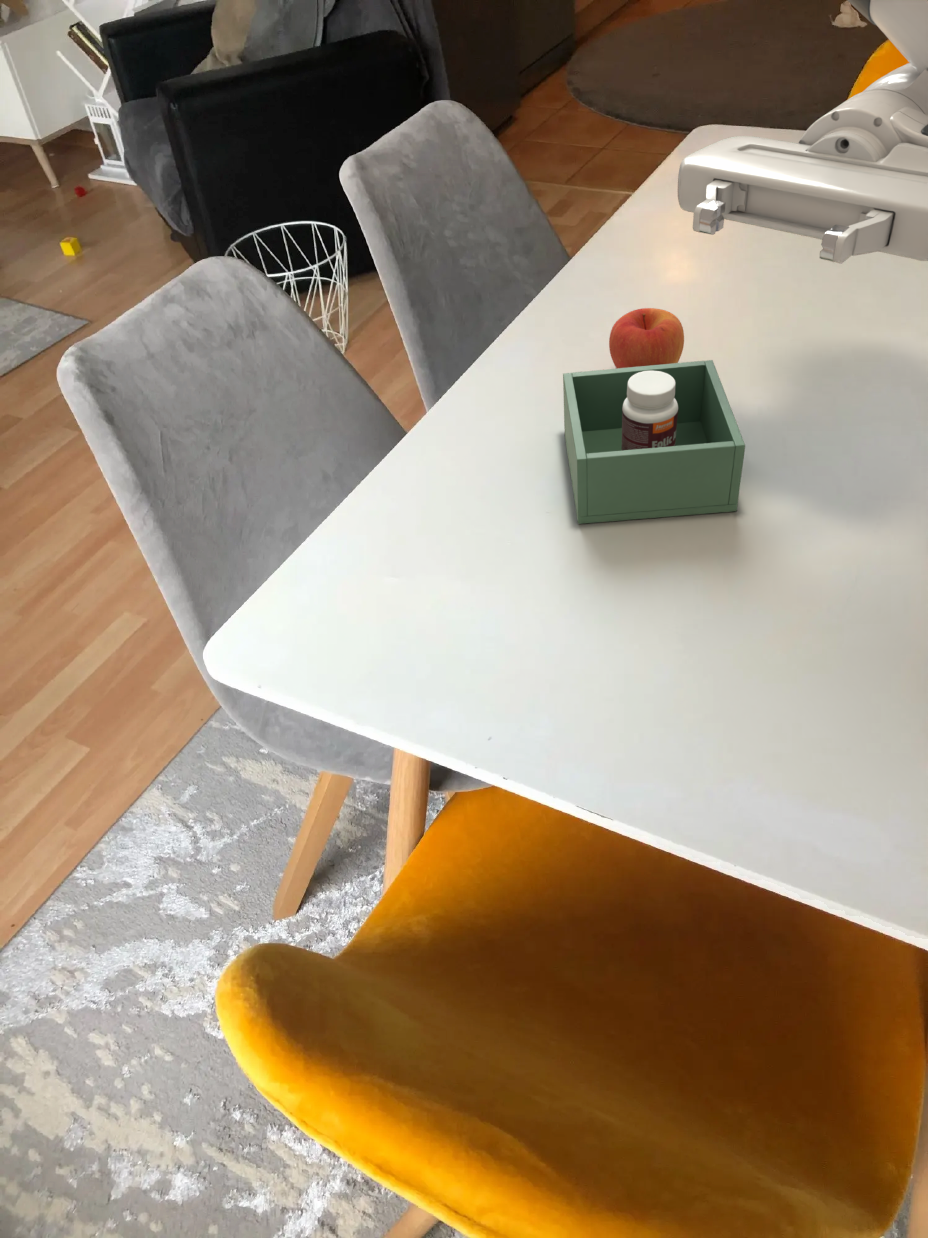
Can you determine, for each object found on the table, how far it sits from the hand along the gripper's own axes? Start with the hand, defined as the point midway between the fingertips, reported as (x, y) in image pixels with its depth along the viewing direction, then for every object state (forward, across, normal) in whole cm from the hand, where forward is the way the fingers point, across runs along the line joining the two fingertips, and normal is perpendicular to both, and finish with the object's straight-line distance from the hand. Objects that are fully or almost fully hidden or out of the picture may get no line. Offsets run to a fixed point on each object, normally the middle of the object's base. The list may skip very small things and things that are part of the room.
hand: (764, 235), depth 64 cm
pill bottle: (-2, -10, +24) cm, 26 cm away
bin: (-2, -10, +24) cm, 26 cm away
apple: (-16, -19, +25) cm, 35 cm away
